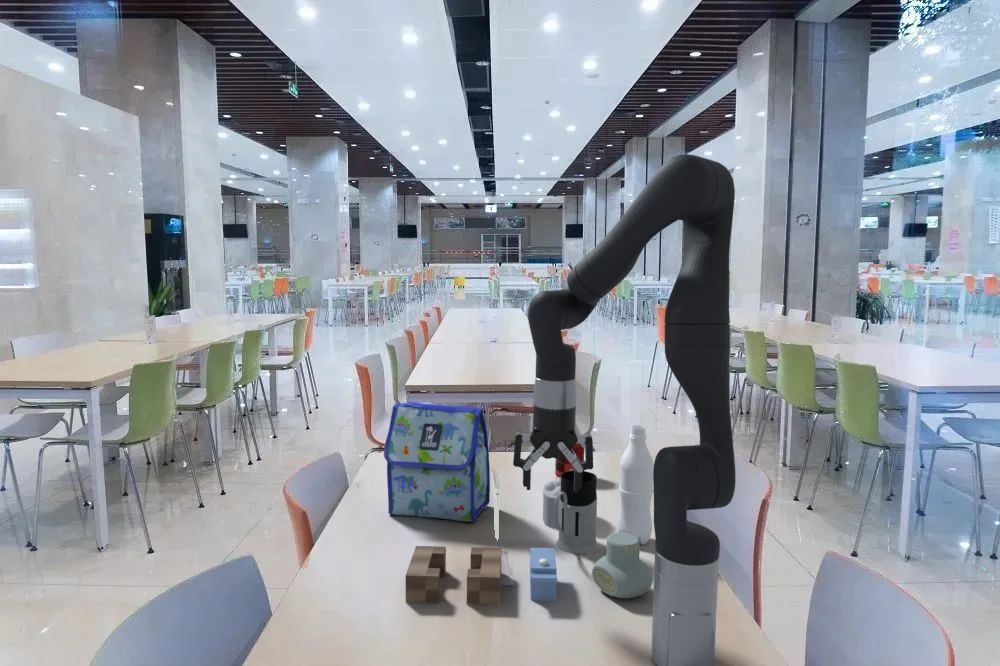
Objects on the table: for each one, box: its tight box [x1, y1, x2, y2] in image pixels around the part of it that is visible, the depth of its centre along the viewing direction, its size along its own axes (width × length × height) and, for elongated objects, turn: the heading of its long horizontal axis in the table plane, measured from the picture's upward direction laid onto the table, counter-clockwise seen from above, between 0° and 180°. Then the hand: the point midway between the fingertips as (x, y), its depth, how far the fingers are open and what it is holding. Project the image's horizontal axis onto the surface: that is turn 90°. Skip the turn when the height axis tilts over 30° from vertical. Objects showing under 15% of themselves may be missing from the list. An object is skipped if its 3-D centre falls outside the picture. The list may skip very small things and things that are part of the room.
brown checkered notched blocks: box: [405, 545, 503, 606], centre depth 124 cm, size 12×16×5 cm
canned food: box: [554, 442, 585, 478], centre depth 185 cm, size 8×8×11 cm
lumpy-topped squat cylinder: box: [542, 477, 561, 529], centre depth 157 cm, size 10×13×9 cm
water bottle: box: [617, 424, 655, 545], centre depth 143 cm, size 7×7×25 cm
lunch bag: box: [383, 401, 491, 523], centre depth 159 cm, size 22×17×26 cm
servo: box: [529, 547, 558, 601], centre depth 123 cm, size 4×12×7 cm, turn 178°
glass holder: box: [554, 470, 599, 555], centre depth 139 cm, size 9×14×15 cm, turn 146°
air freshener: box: [591, 532, 654, 599], centre depth 123 cm, size 11×8×10 cm
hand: (552, 489), depth 122 cm, fingers open, 8 cm apart
